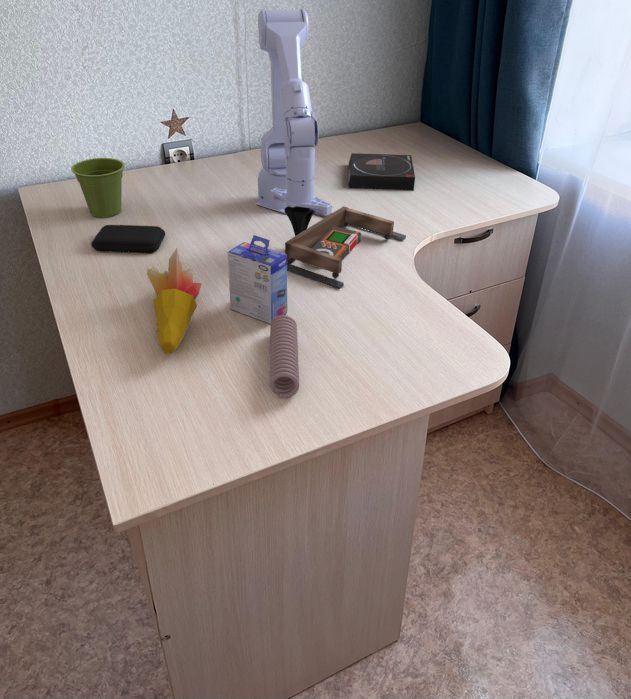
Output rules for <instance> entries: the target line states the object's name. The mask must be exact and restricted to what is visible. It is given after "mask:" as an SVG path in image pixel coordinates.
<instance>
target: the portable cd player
mask: <svg viewBox="0 0 631 699" xmlns="http://www.w3.org/2000/svg"><path fill="white" fill-rule="evenodd" d="M347 176H348V177H347V178H348V179H347V186H348V188H349V189H350V190H351V189H352V190H354V189H355V190H378V191H379V190H380V191H382V190H383V191H408V192H409V191H412V192H413V191H415V183H416V182H415V181H416V174H415V168H414V164H413V158H412V155H411V154H391V153H390V154H389V153H387V154H385V153H361V152H360V153H357V152H355V153H354V152H352V153H351V155H350V158H349V161H348V175H347Z"/></svg>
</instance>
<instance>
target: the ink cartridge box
mask: <svg viewBox="0 0 631 699" xmlns="http://www.w3.org/2000/svg"><path fill="white" fill-rule="evenodd" d="M270 241H271V240H270V239H268V238H264V237H261V236H258V235H255V234H253V235H252V238H251V241H250V242H246V241H243V242H242V243H240V244H238V245H236V246H234V247H233V248H231V249H230V250H228V251H227V267H228V268H227V269H228V286H229V290H228V291H229V308H230V310H232V311H236V312H238V313H240V314H244V315H246V316H248V317H252V318H254V319H256V320H260V321H262V322H265V323H267V324H271V321H272V320H273V319H274V318H275V317H277V316H280V315H286V314H287V313H288V271H287V254H285V252H284V253H283V252H280V251H276V250H273V249H270V248H269V246H270ZM255 242H261V243H262V244H263V245H265V246H261V245H258V244H255Z"/></svg>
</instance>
